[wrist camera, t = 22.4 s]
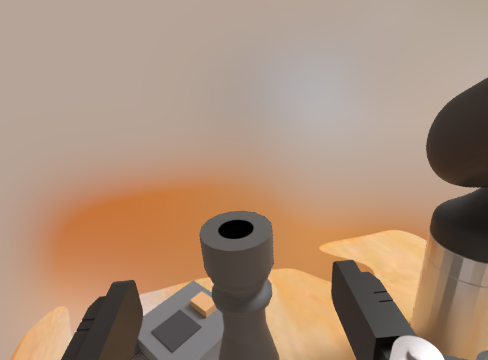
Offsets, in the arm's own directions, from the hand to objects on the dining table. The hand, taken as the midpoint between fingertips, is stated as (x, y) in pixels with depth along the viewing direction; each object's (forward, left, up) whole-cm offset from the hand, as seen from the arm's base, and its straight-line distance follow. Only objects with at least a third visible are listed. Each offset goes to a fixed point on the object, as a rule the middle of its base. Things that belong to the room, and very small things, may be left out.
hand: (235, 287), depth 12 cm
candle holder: (-8, -7, -29) cm, 31 cm away
